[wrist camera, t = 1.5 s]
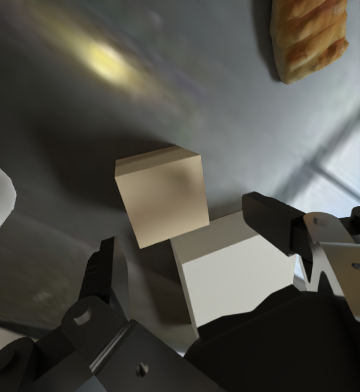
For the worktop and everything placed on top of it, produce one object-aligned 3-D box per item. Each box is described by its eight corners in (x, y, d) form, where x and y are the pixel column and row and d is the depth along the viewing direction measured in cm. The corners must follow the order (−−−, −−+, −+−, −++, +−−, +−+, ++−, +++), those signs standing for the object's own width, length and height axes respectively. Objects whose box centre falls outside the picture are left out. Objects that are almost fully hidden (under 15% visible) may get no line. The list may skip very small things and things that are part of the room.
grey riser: (168, 235, 22) (181, 264, 17) (267, 201, 24) (300, 218, 20) (191, 324, 29) (205, 360, 25) (265, 290, 32) (288, 317, 28)
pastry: (248, -19, 15) (285, -60, 12) (310, -63, 15) (364, -116, 12) (277, 92, 19) (311, 85, 16) (325, 56, 20) (369, 42, 16)
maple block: (115, 160, 17) (114, 177, 12) (176, 145, 18) (200, 154, 13) (134, 214, 19) (140, 248, 14) (186, 198, 21) (209, 224, 15)
